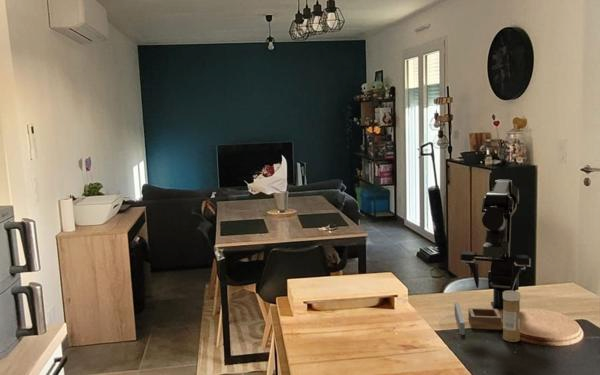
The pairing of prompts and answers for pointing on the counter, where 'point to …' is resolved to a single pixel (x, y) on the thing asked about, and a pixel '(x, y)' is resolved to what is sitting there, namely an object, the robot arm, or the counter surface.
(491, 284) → the robot arm
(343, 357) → the counter surface
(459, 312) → the backstop rail
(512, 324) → the sprinkles bottle
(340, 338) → the counter surface
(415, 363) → the counter surface
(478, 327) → the socket block
